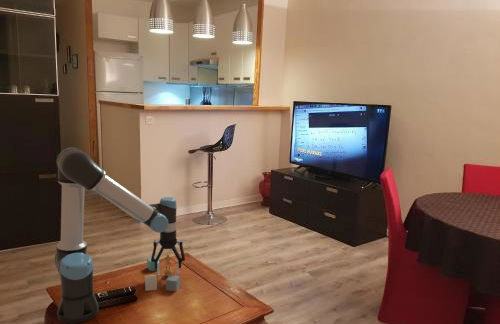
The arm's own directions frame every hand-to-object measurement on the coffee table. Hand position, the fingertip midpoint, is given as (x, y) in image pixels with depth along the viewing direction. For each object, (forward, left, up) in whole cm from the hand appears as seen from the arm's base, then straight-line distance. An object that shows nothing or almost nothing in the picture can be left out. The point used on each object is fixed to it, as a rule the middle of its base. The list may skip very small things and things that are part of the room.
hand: (168, 274), depth 192 cm
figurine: (0, 0, -2) cm, 2 cm away
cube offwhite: (-7, -10, -1) cm, 12 cm away
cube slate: (+3, -11, -1) cm, 11 cm away
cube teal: (-8, +10, -1) cm, 13 cm away
